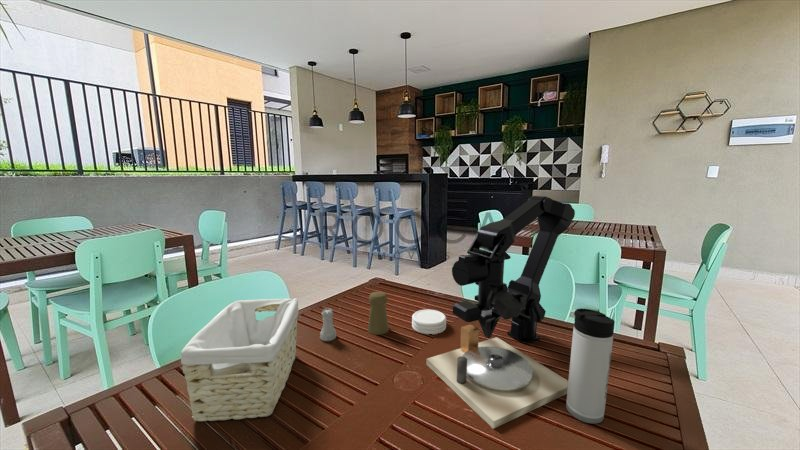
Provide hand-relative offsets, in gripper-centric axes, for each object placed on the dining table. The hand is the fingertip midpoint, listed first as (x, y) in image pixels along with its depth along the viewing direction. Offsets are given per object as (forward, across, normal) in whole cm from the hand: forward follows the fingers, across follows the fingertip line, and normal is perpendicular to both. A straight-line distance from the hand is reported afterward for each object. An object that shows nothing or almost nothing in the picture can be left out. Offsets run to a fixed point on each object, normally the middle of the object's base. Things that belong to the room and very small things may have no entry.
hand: (487, 337), depth 83 cm
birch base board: (+4, -6, -9) cm, 11 cm away
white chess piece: (+4, -34, +25) cm, 42 cm away
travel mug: (+4, +1, -25) cm, 25 cm away
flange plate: (+2, -6, -7) cm, 10 cm away
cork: (+4, -20, +23) cm, 31 cm away
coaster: (+4, -6, +18) cm, 19 cm away
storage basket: (+4, -53, +13) cm, 55 cm away
